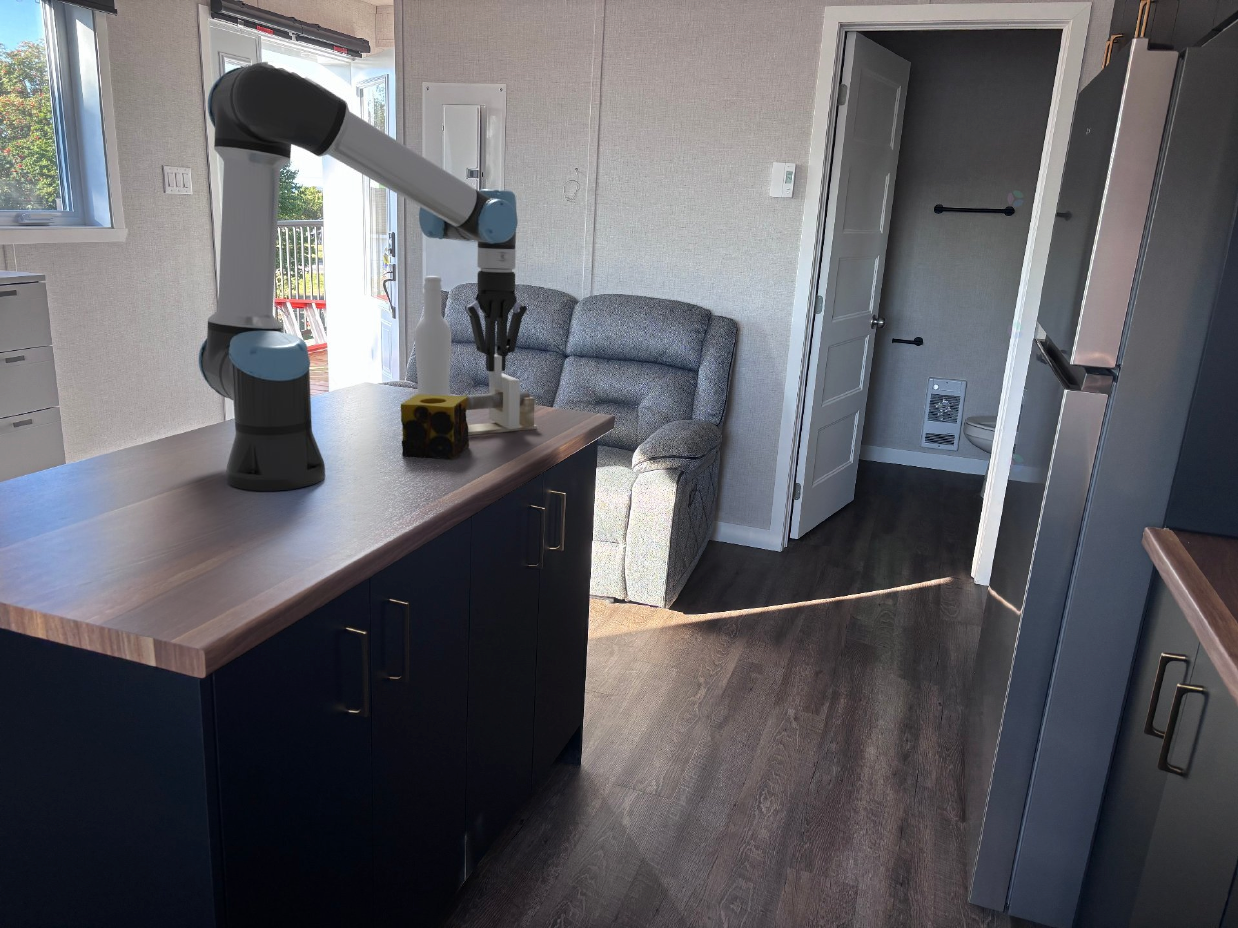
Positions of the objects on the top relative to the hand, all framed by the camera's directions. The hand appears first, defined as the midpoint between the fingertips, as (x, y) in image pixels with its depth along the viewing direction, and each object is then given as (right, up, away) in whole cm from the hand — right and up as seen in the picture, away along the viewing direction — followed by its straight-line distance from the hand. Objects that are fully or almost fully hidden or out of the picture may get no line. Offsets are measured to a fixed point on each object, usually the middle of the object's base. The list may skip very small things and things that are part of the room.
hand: (495, 386), depth 189 cm
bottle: (-15, -5, +14) cm, 21 cm away
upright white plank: (+1, -8, +3) cm, 9 cm away
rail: (-1, -9, +2) cm, 9 cm away
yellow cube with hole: (-9, -14, -17) cm, 24 cm away
